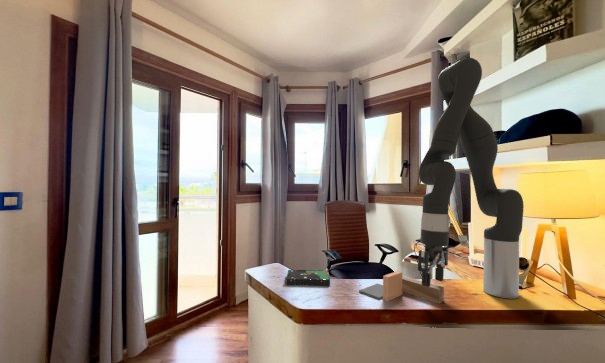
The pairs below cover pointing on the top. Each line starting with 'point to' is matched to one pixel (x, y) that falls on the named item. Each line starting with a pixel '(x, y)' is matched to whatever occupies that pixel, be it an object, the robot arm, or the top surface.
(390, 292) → the tile
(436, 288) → the block
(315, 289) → the top surface
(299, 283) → the disk drive
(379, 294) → the mat
